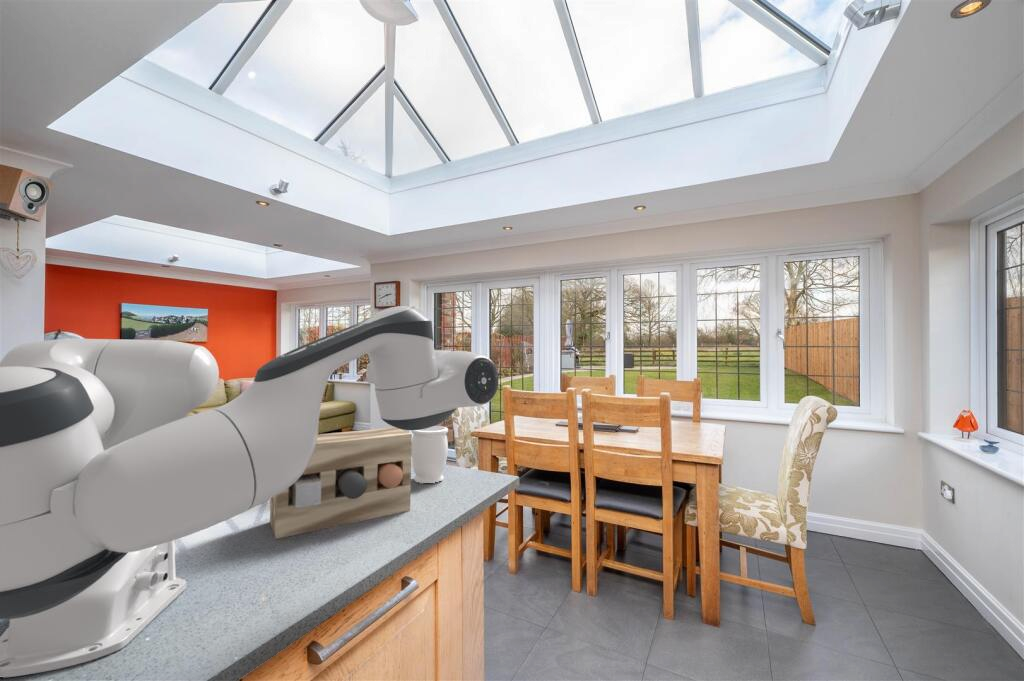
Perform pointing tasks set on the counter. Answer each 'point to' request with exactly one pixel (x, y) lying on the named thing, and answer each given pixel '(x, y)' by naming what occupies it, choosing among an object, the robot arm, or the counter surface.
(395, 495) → the wooden holder box
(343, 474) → the dark grey cylinder
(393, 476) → the terracotta button
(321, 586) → the counter surface
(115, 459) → the robot arm
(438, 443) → the jar
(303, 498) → the gray metal cube
